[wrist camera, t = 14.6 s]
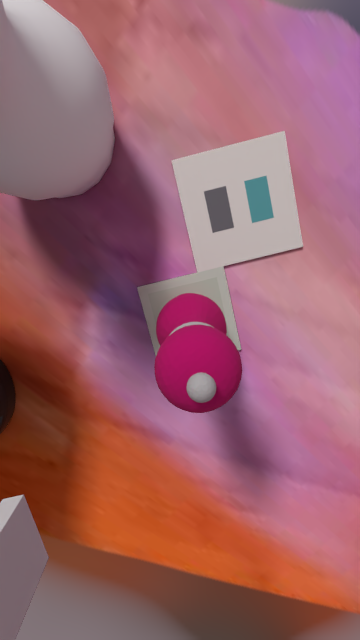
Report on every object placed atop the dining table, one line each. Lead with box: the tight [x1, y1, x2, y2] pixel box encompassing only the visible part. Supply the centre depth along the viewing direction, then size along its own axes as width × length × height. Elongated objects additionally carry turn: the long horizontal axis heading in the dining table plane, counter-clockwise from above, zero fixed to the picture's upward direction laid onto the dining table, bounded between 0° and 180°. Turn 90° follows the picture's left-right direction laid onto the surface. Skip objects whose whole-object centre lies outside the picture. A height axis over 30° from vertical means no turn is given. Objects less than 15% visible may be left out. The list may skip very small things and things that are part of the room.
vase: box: [0, 0, 115, 200], centre depth 25 cm, size 14×14×20 cm
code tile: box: [172, 131, 303, 273], centre depth 36 cm, size 12×12×1 cm
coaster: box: [137, 266, 241, 356], centre depth 39 cm, size 10×10×1 cm
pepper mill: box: [155, 293, 242, 413], centre depth 29 cm, size 7×7×20 cm
